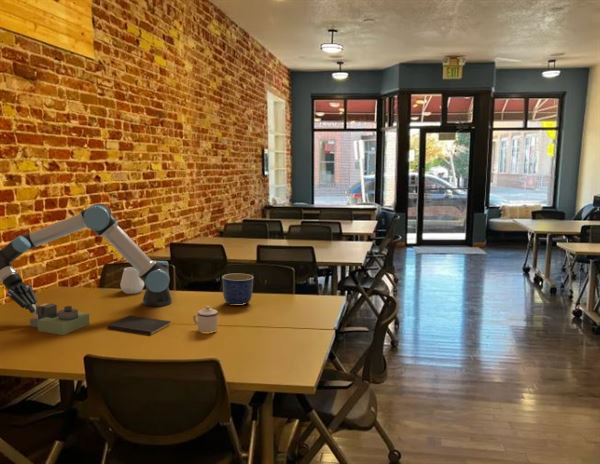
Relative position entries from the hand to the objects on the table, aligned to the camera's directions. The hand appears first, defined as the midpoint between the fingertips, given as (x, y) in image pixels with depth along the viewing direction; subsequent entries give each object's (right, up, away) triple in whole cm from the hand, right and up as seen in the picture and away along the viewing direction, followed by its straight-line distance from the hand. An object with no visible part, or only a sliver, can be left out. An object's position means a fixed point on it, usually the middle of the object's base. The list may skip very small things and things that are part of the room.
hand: (39, 316), depth 226 cm
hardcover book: (+46, -6, +1) cm, 46 cm away
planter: (+86, -1, +44) cm, 96 cm away
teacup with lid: (+76, -6, -1) cm, 77 cm away
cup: (+22, +4, +61) cm, 65 cm away
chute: (+4, -4, -1) cm, 5 cm away
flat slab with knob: (+9, -4, -2) cm, 10 cm away
